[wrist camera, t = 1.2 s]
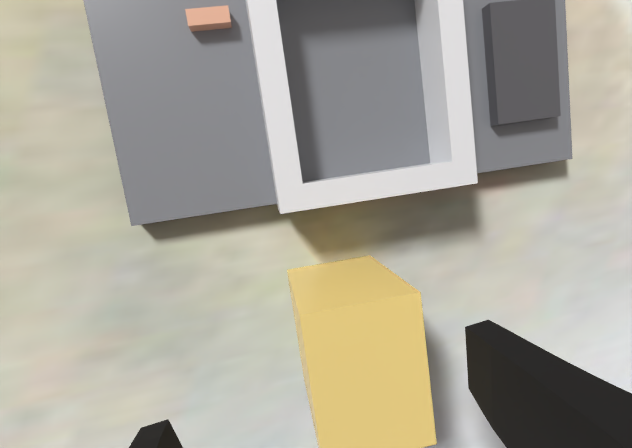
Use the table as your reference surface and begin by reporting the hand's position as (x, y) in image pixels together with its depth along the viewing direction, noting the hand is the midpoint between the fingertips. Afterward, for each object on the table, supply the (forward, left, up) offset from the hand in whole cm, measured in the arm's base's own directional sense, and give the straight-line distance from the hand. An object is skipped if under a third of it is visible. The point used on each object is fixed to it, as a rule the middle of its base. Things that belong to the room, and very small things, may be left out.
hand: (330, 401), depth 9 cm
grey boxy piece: (+5, -8, -9) cm, 13 cm away
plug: (-2, 0, -9) cm, 10 cm away
